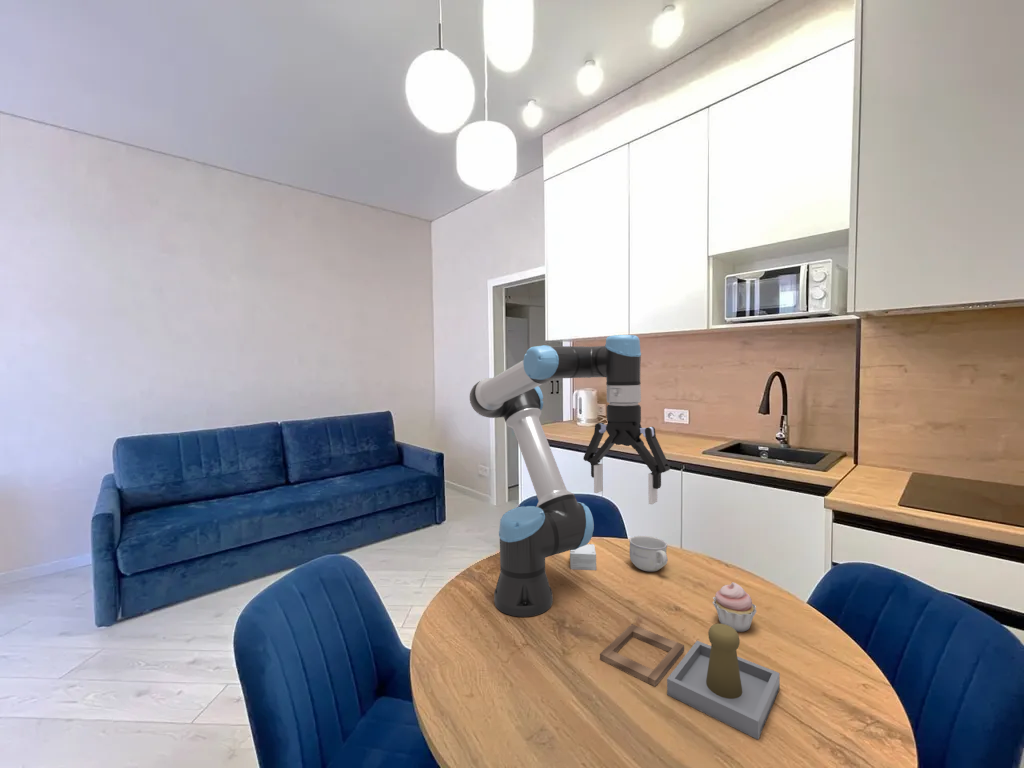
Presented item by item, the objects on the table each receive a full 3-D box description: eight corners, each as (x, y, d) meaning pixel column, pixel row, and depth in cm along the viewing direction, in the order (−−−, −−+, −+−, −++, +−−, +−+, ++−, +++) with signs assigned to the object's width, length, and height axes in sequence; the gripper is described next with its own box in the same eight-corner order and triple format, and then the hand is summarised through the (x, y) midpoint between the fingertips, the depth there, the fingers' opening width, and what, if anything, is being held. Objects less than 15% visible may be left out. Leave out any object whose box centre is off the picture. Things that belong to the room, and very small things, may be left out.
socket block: (599, 659, 91) (599, 653, 91) (631, 629, 101) (631, 623, 101) (655, 686, 83) (655, 680, 83) (684, 650, 93) (684, 645, 93)
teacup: (624, 560, 137) (624, 535, 137) (657, 558, 139) (657, 533, 138) (642, 582, 124) (642, 553, 123) (679, 579, 125) (679, 551, 124)
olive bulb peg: (746, 700, 78) (746, 639, 77) (710, 696, 79) (709, 635, 79) (737, 677, 84) (736, 620, 83) (703, 673, 85) (702, 617, 85)
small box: (595, 559, 139) (594, 543, 139) (596, 571, 131) (596, 554, 131) (570, 558, 140) (569, 542, 140) (570, 570, 132) (569, 553, 132)
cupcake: (707, 611, 108) (707, 571, 108) (749, 615, 106) (749, 574, 106) (717, 634, 99) (717, 590, 99) (763, 638, 97) (763, 594, 97)
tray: (667, 694, 81) (667, 678, 81) (697, 654, 92) (697, 640, 92) (758, 739, 71) (758, 721, 71) (779, 688, 82) (779, 672, 82)
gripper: (568, 402, 105) (569, 491, 106) (670, 407, 88) (671, 512, 89) (585, 400, 111) (586, 484, 111) (685, 405, 94) (685, 503, 95)
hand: (624, 497), depth 100 cm, fingers open, 13 cm apart
